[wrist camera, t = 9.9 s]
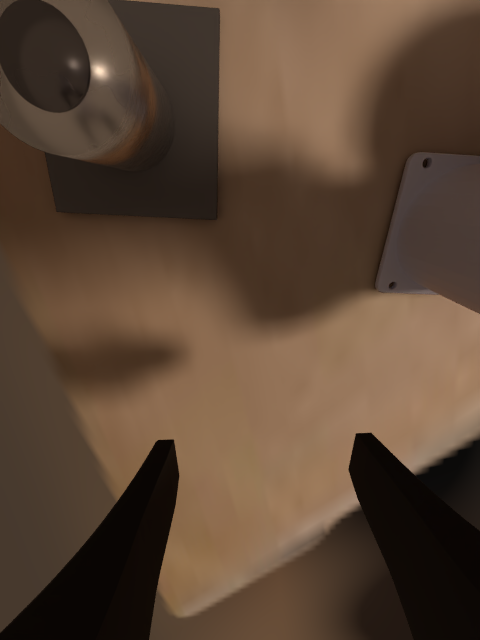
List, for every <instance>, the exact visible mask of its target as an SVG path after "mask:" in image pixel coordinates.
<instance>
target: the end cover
mask: <svg viewBox="0 0 480 640" xmlns="http://www.w3.org/2000/svg"><path fill="white" fill-rule="evenodd" d="M0 124H1V125H2V126H3V127H5V128H6V129H7V130H8V131H9V132H10V133H11V134H13V135H14V136H15V137H17V138H18V139H20V140H21V141H23V142H24V143H26V144H28V145H30V146H32V147H34V148H36V149H38V150H41V151H44V152H47V153H51V154H55V155H59V156H64V157H68V158H73V159H77V160H82V161H86V162H91V163H95V164H100V165H104V166H109V167H113V168H117V169H122V170H126V171H132V172H139V171H145V170H148V169H151V168H153V167H155V166H156V165H158V164H159V163H160V162H161V161H162V160H163V159H164V158H165V157H166V155H167V153H168V152H169V150H170V148H171V145H172V142H173V139H174V133H175V119H174V113H173V109H172V105H171V102H170V100H169V97H168V95H167V93H166V92H165V90H164V88H163V87H162V85H161V83H160V82H159V80H158V79H157V77H156V76H155V74H154V73H153V71H152V69H151V68H150V66H149V65H148V63H147V62H146V60H145V58H144V57H143V55H142V54H141V52H140V51H139V49H138V47H137V46H136V44H135V43H134V41H133V40H132V38H131V36H130V35H129V33H128V32H127V30H126V29H125V27H124V26H123V24H122V22H121V21H120V19H119V18H118V16H117V15H116V13H115V11H114V10H113V8H112V7H111V5H110V4H109V2H108V0H0Z"/></svg>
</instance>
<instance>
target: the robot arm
mask: <svg viewBox="0 0 480 640" xmlns="http://www.w3.org/2000/svg"><path fill="white" fill-rule="evenodd" d="M424 159H427V161H428V163H427V166H426V167H425V168H423V166H422V164H423V161H424ZM391 282H394V284H393V286H392V287H390V288H389V284H390V283H391ZM375 287H376V289H377V290H378V291H380V292H384V293H410V294H436V295H442V296H444V297H446V298H448V299H450V300H452V301H454V302H456V303H458V304H460V305H462V306H464V307H466V308H468V309H471V310H473V311H475V312H477V313H479V314H480V156H475V155H459V154H444V153H428V152H418V153H414V154H412V155H410V157H409V158H408V159H407V161H406V165H405V168H404V172H403V176H402V180H401V184H400V188H399V192H398V196H397V200H396V204H395V208H394V212H393V216H392V220H391V223H390V227H389V231H388V235H387V239H386V243H385V247H384V251H383V255H382V259H381V263H380V267H379V271H378V274H377V278H376V282H375ZM349 473H350V476H351V479H352V483H353V486H354V489H355V492H356V495H357V498H358V500H359V502H360V505H361V507H362V509H363V512H364V514H365V516H366V519H367V521H368V523H369V525H370V528H371V530H372V532H373V534H374V537H375V539H376V541H377V544H378V546H379V548H380V550H381V553H382V555H383V557H384V559H385V562H386V564H387V566H388V568H389V571H390V574H391V576H392V579H393V581H394V584H395V587H396V590H397V592H398V595H399V598H400V601H401V604H402V606H403V609H404V612H405V615H406V618H407V621H408V624H409V627H410V630H411V633H412V636H413V639H414V640H480V531H479V530H478V529H477V528H475V527H474V526H472V525H471V524H470V523H469V522H467V521H466V520H465V519H464V518H462V517H461V516H460V515H459V514H458V513H456V512H455V511H454V510H453V509H452V508H451V507H450V506H448V505H447V504H446V503H445V502H444V501H443V500H441V499H440V498H439V497H438V496H437V495H436V494H434V493H433V492H432V491H431V490H430V489H429V488H428V487H427V486H426V485H425V484H424V483H422V482H421V481H420V480H419V479H418V478H417V477H416V476H415V475H414V474H413V473H412V472H411V471H410V470H409V469H408V468H406V467H405V466H404V465H403V464H402V463H401V462H400V461H399V460H398V459H397V458H396V457H395V456H394V455H393V454H392V453H391V452H390V451H389V450H388V449H387V448H386V447H385V446H384V445H383V444H382V443H381V442H380V441H379V440H378V439H377V438H376V437H375V436H374V435H373V434H372V433H356V436H355V440H354V445H353V450H352V455H351V460H350V465H349ZM178 482H179V471H178V464H177V457H176V451H175V444H174V440H158V441H157V442H156V443H155V445H154V446H153V448H152V450H151V451H150V453H149V455H148V456H147V458H146V460H145V461H144V463H143V465H142V466H141V468H140V469H139V471H138V472H137V474H136V475H135V477H134V478H133V480H132V481H131V483H130V484H129V486H128V487H127V489H126V490H125V492H124V493H123V494H122V496H121V497H120V499H119V500H118V501H117V503H116V504H115V505H114V507H113V508H112V509H111V511H110V512H109V513H108V515H107V516H106V518H105V519H104V520H103V521H102V523H101V524H100V525H99V527H98V528H97V529H96V530H95V532H94V533H93V534H92V535H91V536H90V538H89V539H88V540H87V541H86V543H85V544H84V545H83V546H82V547H81V548H80V550H79V551H78V552H77V553H76V554H75V555H74V557H73V558H72V559H71V560H70V561H69V562H68V563H67V564H66V565H65V567H64V568H63V569H62V570H61V571H60V572H59V573H58V574H57V576H56V577H55V578H54V579H53V580H52V581H51V582H50V583H49V584H48V585H47V586H46V587H45V588H44V590H42V592H41V593H40V594H39V595H38V596H37V597H36V598H35V599H34V600H33V601H32V602H31V603H30V604H29V605H28V606H27V607H26V608H25V609H24V610H23V611H22V612H21V613H20V614H19V615H18V616H17V617H16V618H15V619H14V620H13V621H12V622H11V623H10V624H9V625H8V626H7V627H6V628H5V629H4V630H3V631H2V632H1V633H0V640H149V635H150V628H151V622H152V616H153V609H154V603H155V596H156V590H157V585H158V580H159V575H160V570H161V566H162V562H163V557H164V553H165V549H166V544H167V540H168V536H169V531H170V527H171V523H172V518H173V514H174V509H175V505H176V497H177V490H178Z"/></svg>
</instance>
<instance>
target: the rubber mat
mask: <svg viewBox="0 0 480 640" xmlns="http://www.w3.org/2000/svg"><path fill="white" fill-rule="evenodd" d="M108 2H109V4H110V5H111V7H112V8H113V10H114V11H115V13H116V15H117V16H118V18H119V19H120V21H121V22H122V24H123V26H124V27H125V29H126V30H127V32H128V33H129V35H130V36H131V38H132V40H133V41H134V43H135V44H136V46H137V47H138V49H139V51H140V52H141V54H142V55H143V57H144V58H145V60H146V62H147V63H148V65H149V66H150V68H151V69H152V71H153V73H154V74H155V76H156V77H157V79H158V80H159V82H160V83H161V85H162V87H163V88H164V90H165V92H166V93H167V95H168V97H169V100H170V102H171V105H172V109H173V113H174V119H175V133H174V139H173V142H172V145H171V148H170V150H169V152H168V153H167V155H166V157H165V158H164V159H163V160H162V161H161V162H160V163H159V164H158V165H156V166H155V167H153V168H151V169H148V170H145V171H139V172H132V171H126V170H122V169H117V168H113V167H109V166H104V165H100V164H95V163H91V162H86V161H82V160H77V159H73V158H68V157H64V156H59V155H55V154H51V153H47V152H45V156H46V161H47V166H48V171H49V176H50V181H51V186H52V191H53V196H54V201H55V206H56V210H57V212H68V213H88V214H108V215H128V216H148V217H168V218H188V219H208V220H217V173H218V107H219V40H220V10H219V8H208V7H196V6H184V5H173V4H161V3H149V2H137V1H126V0H108Z"/></svg>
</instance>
